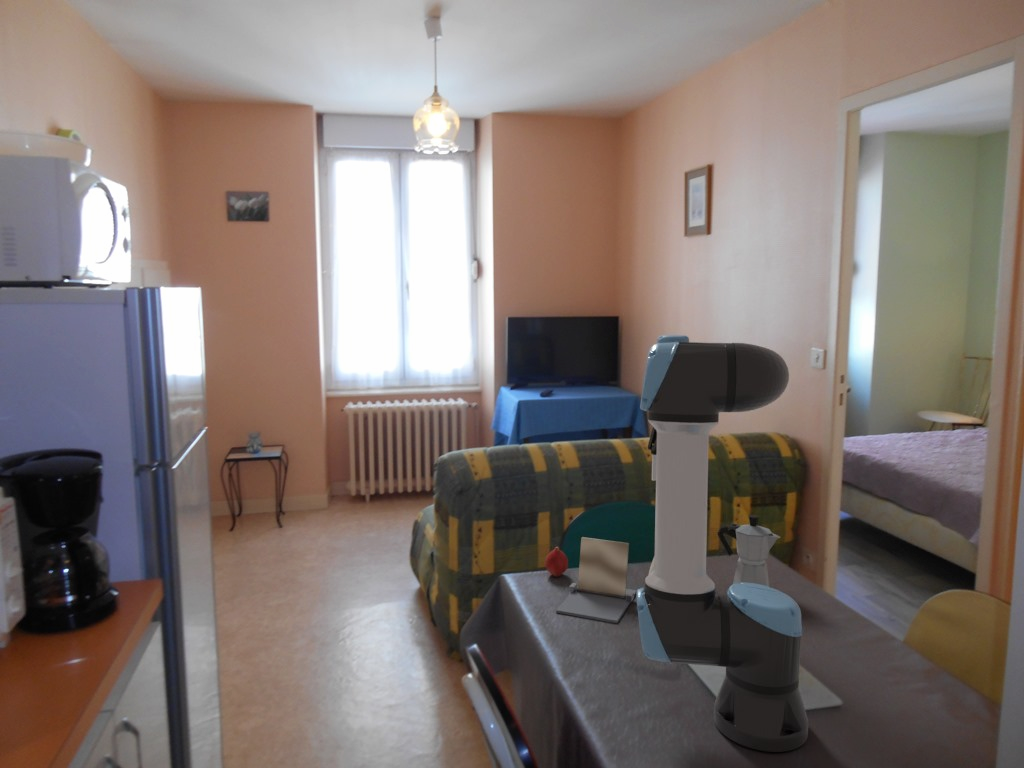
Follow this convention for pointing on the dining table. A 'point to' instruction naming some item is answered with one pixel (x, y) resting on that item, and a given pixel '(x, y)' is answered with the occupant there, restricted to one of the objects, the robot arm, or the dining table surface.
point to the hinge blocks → (628, 597)
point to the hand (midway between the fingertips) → (669, 487)
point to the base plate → (594, 606)
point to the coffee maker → (750, 550)
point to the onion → (556, 562)
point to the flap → (603, 567)
